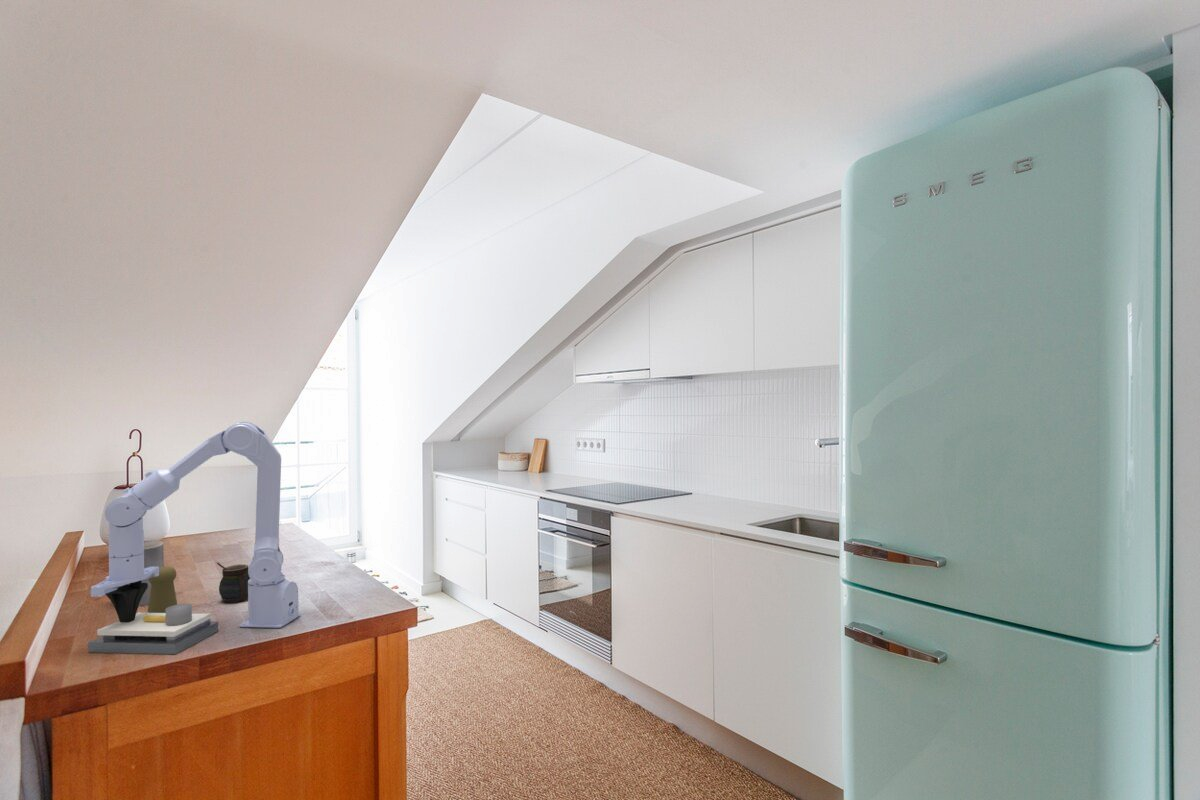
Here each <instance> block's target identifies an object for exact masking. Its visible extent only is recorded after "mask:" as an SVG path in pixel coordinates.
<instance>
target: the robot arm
mask: <svg viewBox="0 0 1200 800" xmlns="http://www.w3.org/2000/svg"><path fill="white" fill-rule="evenodd" d="M230 452H232V453H235V454H238V455H240V456H242V457H246V459H248V460H249V461H250V462H251V463H252V464H253V465H255V466H257V474H256V475H257V477H256V505H255V507H256V509H255V534H254V535H255V536H254V537H255V538H254V539H255V540H254V548H253V556H252V559H251V561H250V564H249V565H248V574H249V577H250V579H249V580H248V598H247V606H248V607H247V608H248V610H247V611H248V612H247V613H248V615H247V617H248V619H247V620H244V621H243V622H241V623H239V624H238V626H239V627H240V628H272V629H273V628H274V629H275V628H278V629H279V628H283V627H284V626H286V625H287V624H289V623H290V622H292V621H294V620H295V619H297V618H299V617H300V616H301V613H300V612H299V586H298V585H297V582H295V581H290V580H287V579H286V574H284V573H283V572H282V565H283V563H284V555H283V553H282V551H281V548H280V508H281V506H280V505H281V484H282V483H281V480H282V478H281V477H282V475H281V474H282V455H281V453H280V451H279V450H278V449H277V448H276V447H275V445H274V443H273V442H272V441H271V439H270V438H269V436H268V435H267V433H266V431H265V430H263V429H262V428H260V427H259V426H257V425H256V424H254V423H252V422H249V421H241V422H237V423H235V424H232V425H230V426H229V427H227V428H226V429H225V430H222V431H220V432H218V433H216V434H215V435H213V436H211V437H209V438H207V439H206V440H204V441H203V442H202V443H201V444H200V445H198V446H197V447H195V448H194V449H193V450H191V451H190V452H189V453H187V454H186V455H185V456H184V457H183V458H180V460H178V461H177V462H175V464H173V465H172V466H170V468H157V469H155V470H148V471H147V472H146V473H145V474H144V476H145V477H144V478H143V479H142V480H140V481H138V482H137V483H135V485H133V486H131V488H130V487H127V488H125V489H124V490H123V491H122V492H123V494H124V495H121V496H119V497H115V498H113V499H112V500H111V501H110V502H109V503H108V505H107V506H106V508H105V510H104V517H105V519H106V521H107V522H108V527H109V529H108V532H109V533H108V575H107V576H105V577H104V578H105V579H103V581H101V582H98V583H97V584H95V585H92V586H90V596H91V597H92V598H93V597H95V598H101V597H104V596H105V595H106V597H107V598H108V599H109V600H110V601H111V603H112V605H113V607H114V609H115V612H116V615H117V618H118V619H119V620H118V621H120V622H126V623H129V622H131V621H134V619H135V616H136V613H138V608H139V607H140V606H139V603H140V600H141V598H142V596H143V594H144V592H145V591H146V589H147V588H148V583H141V581H142V580H145V579H148V578H151V577H157V576H159V567H148V568H144V541H145V535H144V533H145V531H144V518H143V517H144V516H145V515H146V513H147V511H150V510H151V511H152V509H154V508H156V506H159V504H160V503H162V502H163V501H165V500H166V499H167V498H169V497H170V496H171V495H173V494H174V493H175V492H177V491H178V490H179V488H180V485H181V484H180V483H181V480H182V479H184V478H185V477H186V476H187V475H189V474H190V473H192V472H193V471H194V470H196V469H197V468H198V467H200V466H201V465H202V464H204V463H205V462H207V461H208V460H210V459H212V458H213V457H215V456H221V455H225V454H227V453H230Z"/></svg>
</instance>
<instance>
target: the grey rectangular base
mask: <svg viewBox="0 0 1200 800" xmlns="http://www.w3.org/2000/svg"><path fill="white" fill-rule="evenodd" d="M218 632H219V621H211V618H210V619H208V620H207V621H205V622H203V623H201V624H199V625H197V626H195V627H193V628H191V629H189V630H187V631H185V632H183V633H181V634H179V635H177V636H175V637H162V636H113V635H100V636H99V637H97V638H94V639H92V640H89V641H88V642H87V650H88V651H87V652H88V653H97V654H98V653H99V654H103V653H105V654H138V655H139V654H140V655H141V654H142V655H143V654H144V655H177V654H179V653H181V652H183V651H185V650H186V649H188V648H190V647H192V646H193V645H197V643H199V642H201V641H203V640H205V639H206V638H209V637H211V636H212V635H214V634H215V633H218Z"/></svg>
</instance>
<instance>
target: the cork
mask: <svg viewBox="0 0 1200 800" xmlns="http://www.w3.org/2000/svg"><path fill="white" fill-rule="evenodd" d="M176 576H177V571H176V569H175V568H174V567H172V566H164V567H160V568H159V576H157V577H151V578H148V580H149V582H150V583H151V590H150V597H149V604H148V605H147V606H148V607H147V612H146V613H166V608H168V607H170V606H173V605H178V600H177V594H176V589H175V582H174V581H175V579H176Z"/></svg>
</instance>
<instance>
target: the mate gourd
mask: <svg viewBox="0 0 1200 800" xmlns="http://www.w3.org/2000/svg"><path fill="white" fill-rule="evenodd" d="M216 564H217V565H218V566H219V567H220V568H222V570H221V571H222V578H221V579H220V582H219V587H218V592H219V595H220V598H221V600H223V601H224V602H226V603H237V602H243V601H245V600H246V599H247V600H248V580H249V579H250V577H249V574H248V568H249V565H248V564H243V563H241V564H240V563H239V564H233V565H228V566H224V565H222V564H221V563H220V562H216Z"/></svg>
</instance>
